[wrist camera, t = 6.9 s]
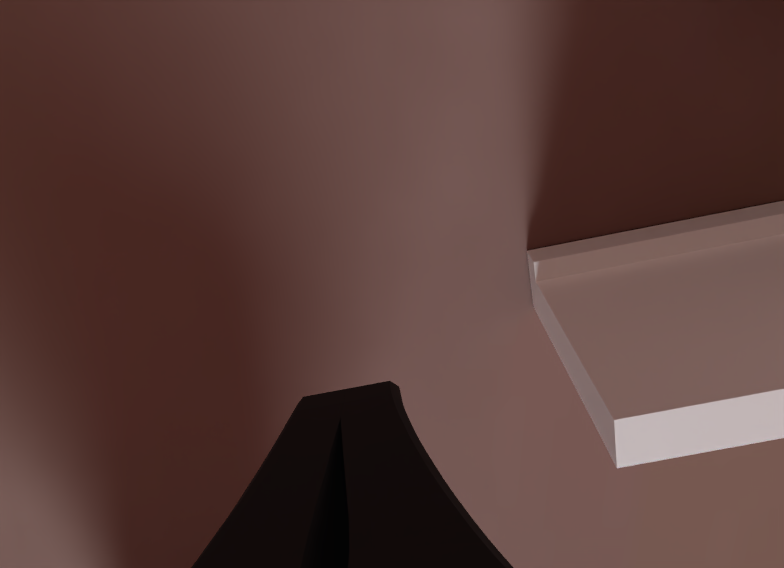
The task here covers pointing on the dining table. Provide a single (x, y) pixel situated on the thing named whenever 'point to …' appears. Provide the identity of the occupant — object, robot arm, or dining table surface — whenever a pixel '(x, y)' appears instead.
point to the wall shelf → (672, 331)
